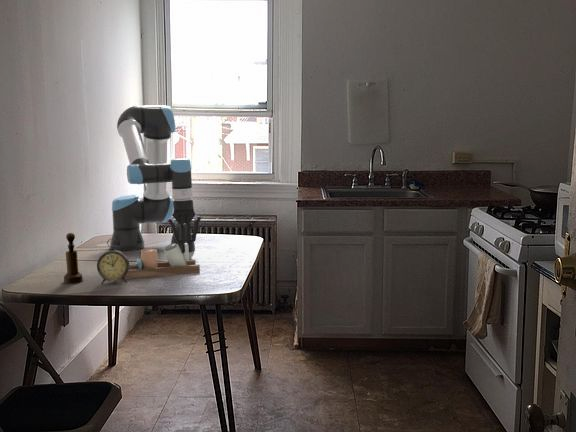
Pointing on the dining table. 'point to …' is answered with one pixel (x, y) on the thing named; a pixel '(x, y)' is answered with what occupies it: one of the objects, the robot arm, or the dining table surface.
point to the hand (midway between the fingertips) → (187, 260)
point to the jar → (174, 255)
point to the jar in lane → (149, 258)
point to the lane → (163, 270)
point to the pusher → (139, 264)
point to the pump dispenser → (185, 240)
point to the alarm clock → (113, 265)
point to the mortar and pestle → (72, 262)
